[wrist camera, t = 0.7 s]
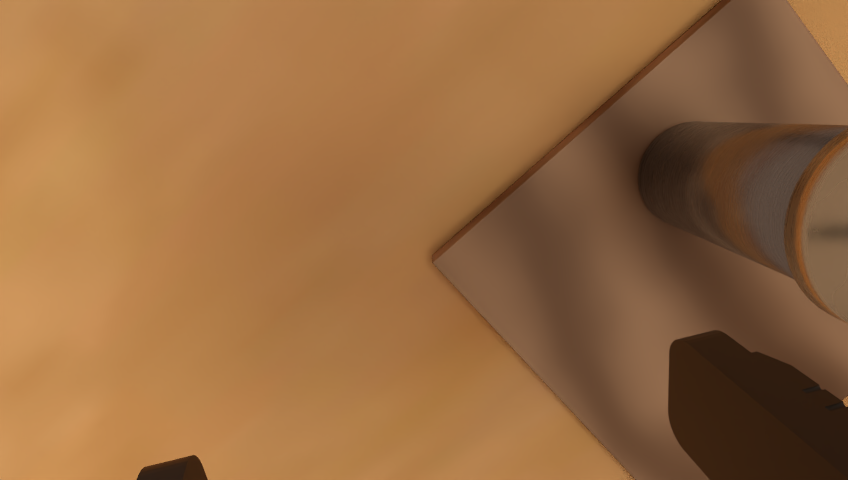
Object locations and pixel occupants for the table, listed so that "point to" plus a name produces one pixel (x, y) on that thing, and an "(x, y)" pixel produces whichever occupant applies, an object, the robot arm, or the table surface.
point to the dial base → (651, 241)
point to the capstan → (760, 197)
